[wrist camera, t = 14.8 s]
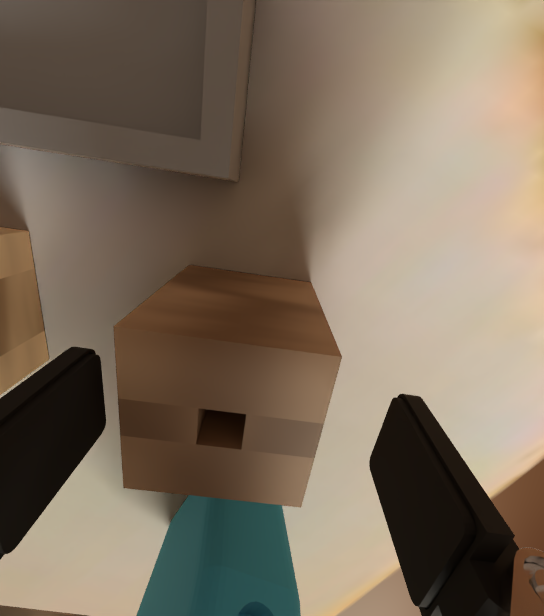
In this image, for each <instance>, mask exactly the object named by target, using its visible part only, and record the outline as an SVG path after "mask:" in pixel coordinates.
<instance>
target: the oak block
mask: <svg viewBox="0 0 544 616" xmlns="http://www.w3.org/2000/svg"><path fill="white" fill-rule="evenodd" d="M48 360H49V356H48V349H47V343H46V337H45V331H44V324H43V318H42V312H41V306H40V300H39V293H38V287H37V281H36V275H35V269H34V262H33V256H32V250H31V244H30V237H29V231H25V230H18V229H11V228H4V227H0V395H1V394H2V393H4V392H5V391H6V390H8V389H9V388H11V387H12V386H13V385H15V384H16V383H17V382H19V381H20V380H22V379H23V378H24V377H26V376H27V375H28V374H30V373H31V372H33V371H34V370H35V369H37V368H38V367H39V366H41V365H42V364H44V363H45V362H46V361H48Z"/></svg>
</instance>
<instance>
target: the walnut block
mask: <svg viewBox="0 0 544 616" xmlns="http://www.w3.org/2000/svg"><path fill="white" fill-rule="evenodd" d="M114 341H115V357H116V373H117V389H118V405H119V421H120V437H121V454H122V470H123V486H124V488H129V489H138V490H147V491H156V492H165V493H174V494H184V495H193V496H202V497H211V498H220V499H229V500H238V501H248V502H257V503H266V504H275V505H284V506H293V507H301V505H302V502H303V498H304V494H305V491H306V487H307V483H308V480H309V476H310V472H311V469H312V465H313V461H314V458H315V454H316V450H317V447H318V443H319V439H320V436H321V432H322V428H323V425H324V421H325V417H326V414H327V410H328V406H329V403H330V399H331V395H332V392H333V388H334V384H335V381H336V377H337V373H338V370H339V366H340V362H341V359H342V356H341V354H340V351H339V349H338V346H337V344H336V341H335V339H334V337H333V334H332V332H331V329H330V327H329V325H328V322H327V320H326V317H325V315H324V312H323V310H322V308H321V305H320V303H319V300H318V298H317V295H316V293H315V291H314V288H313V286H312V283H311V282H304V281H297V280H290V279H284V278H277V277H270V276H263V275H256V274H249V273H242V272H235V271H228V270H221V269H214V268H208V267H201V266H194V265H188V266H187V267H186V268H185V269H184V270H182V271H181V272H180V273H179V274H177V275H176V276H175V277H174V278H172V279H171V280H170V281H169V282H168V283H166V284H165V285H164V286H163V287H161V288H160V289H159V290H158V291H157V292H155V293H154V294H153V295H152V296H150V297H149V298H148V299H147V300H145V301H144V302H143V303H142V304H141V305H139V306H138V307H137V308H136V309H134V310H133V311H132V312H131V313H129V314H128V315H127V316H126V317H125V318H123V319H122V320H121V321H120V322H118V323H117V324H116V325H115V326H114Z"/></svg>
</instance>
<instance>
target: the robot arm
mask: <svg viewBox="0 0 544 616" xmlns="http://www.w3.org/2000/svg"><path fill="white" fill-rule="evenodd" d="M105 425H106V415H105V404H104V393H103V382H102V371H101V360H100V357H99V355H96V353H95V351H94V350H92V349H87V348H80V347H71V348H69V349H68V350H66V351H65V352H64V353H62V354H61V355H59V356H58V357H57V358H55V359H54V360H53V361H51V362H50V363H48V364H47V365H46V366H44V367H43V368H42V369H40V370H39V371H37V372H36V373H35V374H33V375H32V376H31V377H29V378H28V379H26V380H25V381H24V382H22V383H21V384H20V385H18V386H17V387H15V388H14V389H13V390H11V391H10V392H9V393H7V394H6V395H4V396H3V397H2V398H0V559H1V558H2V557H3V555H4V554H8V553H10V552H11V551H13V550H14V549H15V548H16V546H17V545H18V544H19V543H20V541H21V540H22V539H23V537H24V536H25V535H26V533H27V532H28V531H29V529H30V528H31V527H32V525H33V524H34V523H35V521H36V520H37V519H38V517H39V516H40V515H41V514H42V512H43V511H44V510H45V508H46V507H47V506H48V504H49V503H50V502H51V500H52V499H53V498H54V496H55V495H56V494H57V492H58V491H59V490H60V488H61V487H62V486H63V484H64V483H65V482H66V480H67V479H68V478H69V476H70V475H71V474H72V472H73V471H74V470H75V468H76V467H77V466H78V464H79V463H80V462H81V460H82V459H83V458H84V456H85V455H86V454H87V452H88V451H89V450H90V448H91V447H92V446H93V444H94V443H95V442H96V440H97V439H98V438H99V436H100V435H101V434H102V432H103V430H104V428H105ZM370 471H371V474H372V477H373V480H374V484H375V487H376V490H377V493H378V496H379V499H380V503H381V506H382V509H383V512H384V515H385V518H386V522H387V525H388V528H389V531H390V534H391V538H392V541H393V544H394V547H395V550H396V553H397V557H398V560H399V563H400V566H401V569H402V572H403V575H404V578H405V582H406V585H407V588H408V591H409V595H410V597H411V600H412V602H413V603H414V605H415V606H418V607H419V609H420V612H421V615H422V616H544V552H543V551H540V550H537V549H534V548H522V549H519V548H518V546H517V545H516V543H515V542H514V540H513V538H514V536H515V535H514V534H513V532H512V531H511V529H510V528H509V527H508V525H507V524H506V522H505V521H504V519H503V518H502V516H501V515H500V513H499V512H498V510H497V509H496V507H495V506H494V504H493V503H492V501H491V500H490V498H489V497H488V495H487V494H486V493H485V491H484V490H483V488H482V487H481V485H480V484H479V482H478V481H477V479H476V478H475V476H474V475H473V473H472V472H471V470H470V469H469V467H468V466H467V464H466V463H465V461H464V460H463V459H462V457H461V456H460V454H459V453H458V451H457V450H456V448H455V447H454V445H453V444H452V442H451V441H450V439H449V438H448V436H447V435H446V433H445V432H444V430H443V429H442V427H441V426H440V425H439V423H438V422H437V420H436V419H435V417H434V416H433V414H432V413H431V411H430V410H429V408H428V407H427V405H426V404H425V402H424V401H423V399H422V398H421V397H419V396H413V395H406V394H400V395H399V396H398V397H397V398H393V399H392V401H391V404H390V406H389V409H388V412H387V414H386V417H385V420H384V422H383V425H382V428H381V430H380V433H379V436H378V438H377V441H376V443H375V446H374V449H373V451H372V454H371V457H370ZM0 616H87V615H78V614H70V613H61V612H53V611H44V610H36V609H27V608H19V607H10V606H2V605H0Z"/></svg>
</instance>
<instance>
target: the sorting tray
mask: <svg viewBox="0 0 544 616" xmlns="http://www.w3.org/2000/svg"><path fill="white" fill-rule="evenodd" d="M255 8H256V0H0V144H2V145H8V146H14V147H20V148H27V149H33V150H39V151H46V152H52V153H58V154H65V155H71V156H77V157H83V158H90V159H96V160H102V161H109V162H115V163H121V164H128V165H134V166H140V167H146V168H153V169H159V170H165V171H172V172H178V173H184V174H191V175H197V176H203V177H209V178H216V179H222V180H228V181H235V182H239V175H240V165H241V154H242V144H243V133H244V123H245V112H246V102H247V92H248V81H249V71H250V60H251V50H252V39H253V29H254V18H255Z"/></svg>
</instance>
